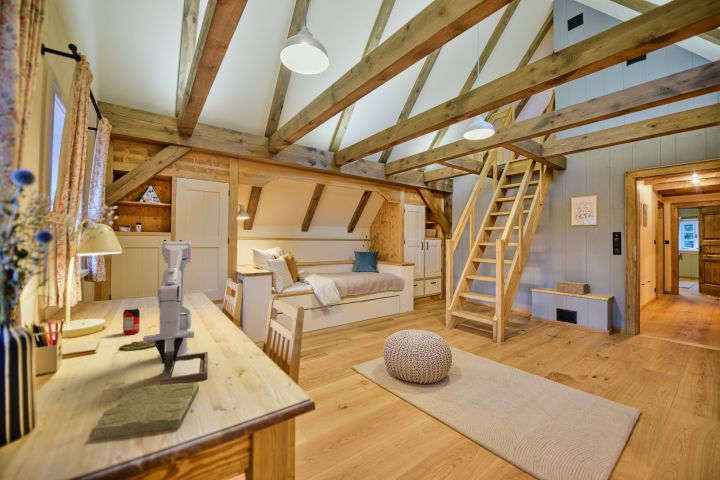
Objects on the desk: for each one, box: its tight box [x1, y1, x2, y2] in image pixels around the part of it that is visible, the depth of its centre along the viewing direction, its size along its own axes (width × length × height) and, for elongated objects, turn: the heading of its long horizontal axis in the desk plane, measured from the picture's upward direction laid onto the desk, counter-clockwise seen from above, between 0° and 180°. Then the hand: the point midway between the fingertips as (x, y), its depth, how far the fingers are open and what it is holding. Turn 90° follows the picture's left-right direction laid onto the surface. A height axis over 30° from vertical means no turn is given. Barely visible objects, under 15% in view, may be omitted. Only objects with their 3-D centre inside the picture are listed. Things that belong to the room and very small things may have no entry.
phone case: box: [171, 358, 202, 377], centre depth 108 cm, size 9×2×16 cm
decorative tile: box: [90, 382, 200, 441], centre depth 82 cm, size 19×20×4 cm
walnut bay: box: [159, 351, 209, 385], centre depth 108 cm, size 21×13×2 cm, turn 25°
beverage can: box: [122, 306, 141, 336], centre depth 151 cm, size 6×6×12 cm
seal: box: [118, 340, 156, 352], centre depth 132 cm, size 9×5×15 cm
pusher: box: [162, 351, 174, 379], centre depth 106 cm, size 12×2×6 cm, turn 25°
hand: (169, 361), depth 106 cm, fingers closed on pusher, 3 cm apart
